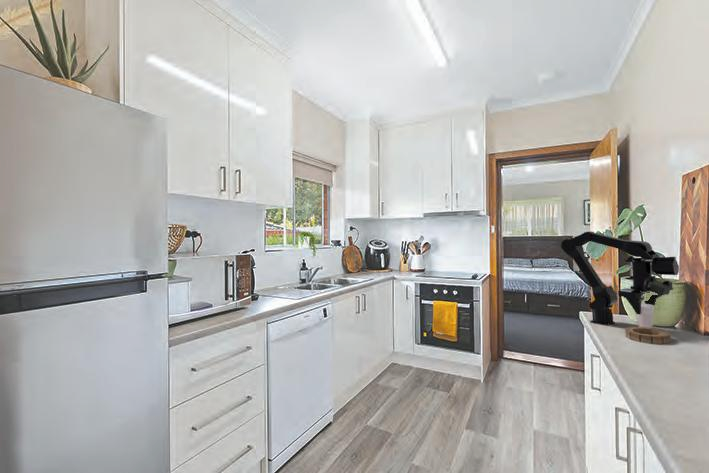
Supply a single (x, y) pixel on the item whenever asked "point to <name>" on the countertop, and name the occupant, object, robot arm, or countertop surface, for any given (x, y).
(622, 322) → the countertop surface
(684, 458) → the countertop surface
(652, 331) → the walnut ring
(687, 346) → the countertop surface
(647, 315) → the smoothie
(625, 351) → the countertop surface
